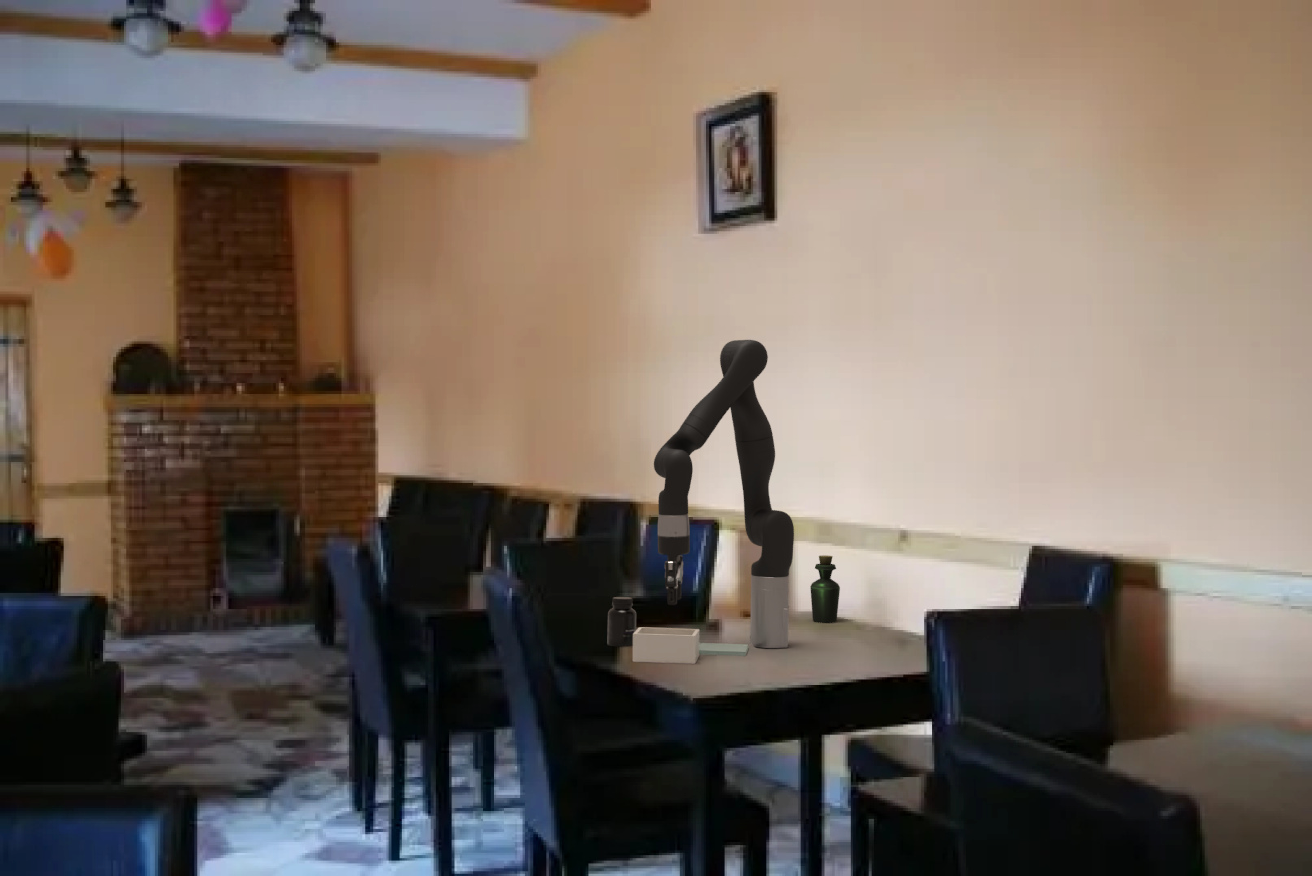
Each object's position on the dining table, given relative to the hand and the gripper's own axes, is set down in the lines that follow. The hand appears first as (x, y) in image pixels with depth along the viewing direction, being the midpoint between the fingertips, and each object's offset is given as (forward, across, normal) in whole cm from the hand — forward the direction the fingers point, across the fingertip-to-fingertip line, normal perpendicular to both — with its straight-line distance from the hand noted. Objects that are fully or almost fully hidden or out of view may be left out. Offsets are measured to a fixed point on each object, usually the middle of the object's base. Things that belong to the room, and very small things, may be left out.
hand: (674, 601), depth 327 cm
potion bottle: (+14, +59, -34) cm, 70 cm away
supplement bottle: (+12, +4, +14) cm, 19 cm away
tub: (+12, -14, 0) cm, 18 cm away
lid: (+12, -1, -7) cm, 14 cm away
